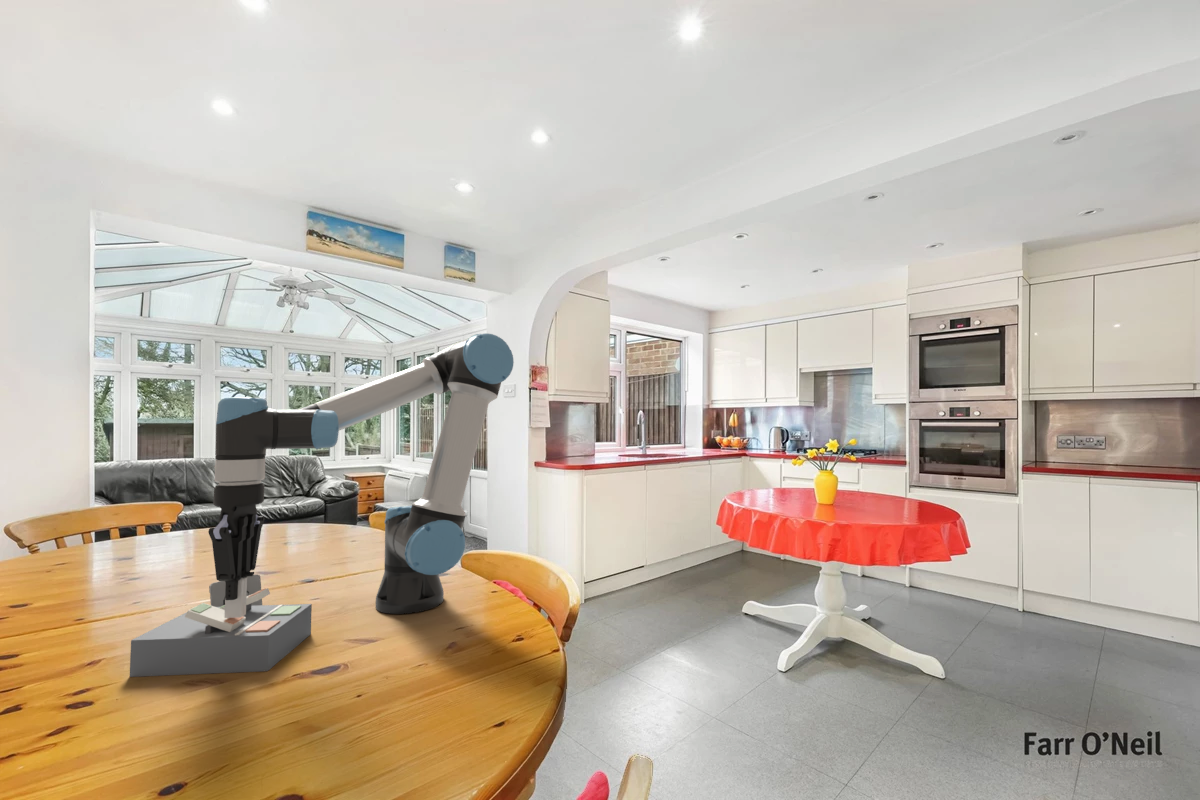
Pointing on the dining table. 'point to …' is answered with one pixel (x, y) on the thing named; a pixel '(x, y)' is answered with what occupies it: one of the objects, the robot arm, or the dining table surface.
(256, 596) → the rocker
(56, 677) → the dining table surface
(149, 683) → the dining table surface
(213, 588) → the electrical switch
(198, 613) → the rocker
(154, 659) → the console
